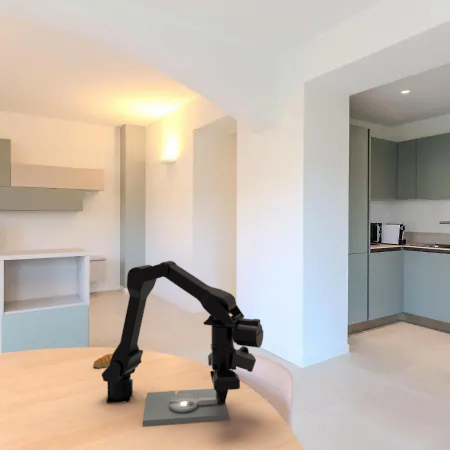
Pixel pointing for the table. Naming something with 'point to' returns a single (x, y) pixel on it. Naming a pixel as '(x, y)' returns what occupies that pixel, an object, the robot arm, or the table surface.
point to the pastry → (103, 361)
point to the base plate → (163, 415)
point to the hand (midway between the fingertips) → (222, 402)
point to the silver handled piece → (190, 402)
